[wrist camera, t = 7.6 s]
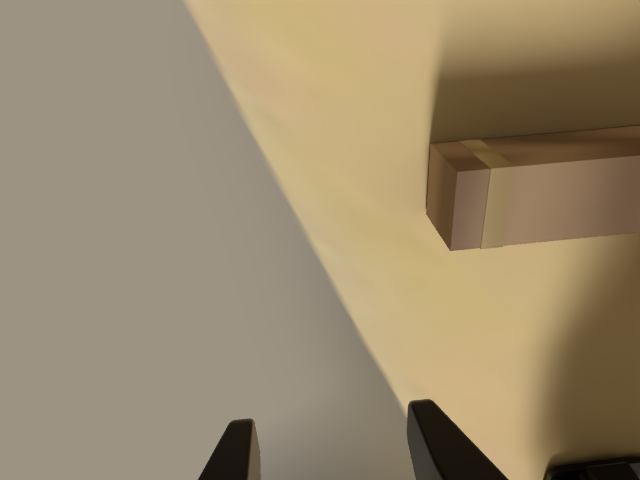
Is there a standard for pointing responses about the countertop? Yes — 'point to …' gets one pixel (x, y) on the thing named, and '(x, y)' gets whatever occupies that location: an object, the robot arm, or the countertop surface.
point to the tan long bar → (535, 188)
